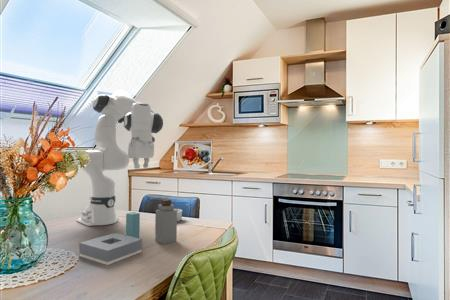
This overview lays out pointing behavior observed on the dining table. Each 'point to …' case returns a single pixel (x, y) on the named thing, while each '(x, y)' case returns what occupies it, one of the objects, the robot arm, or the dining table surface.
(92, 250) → the socket block
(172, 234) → the perfume bottle
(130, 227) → the peg
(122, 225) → the dining table surface
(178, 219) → the saucepan
